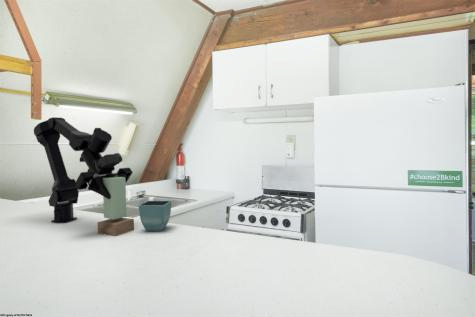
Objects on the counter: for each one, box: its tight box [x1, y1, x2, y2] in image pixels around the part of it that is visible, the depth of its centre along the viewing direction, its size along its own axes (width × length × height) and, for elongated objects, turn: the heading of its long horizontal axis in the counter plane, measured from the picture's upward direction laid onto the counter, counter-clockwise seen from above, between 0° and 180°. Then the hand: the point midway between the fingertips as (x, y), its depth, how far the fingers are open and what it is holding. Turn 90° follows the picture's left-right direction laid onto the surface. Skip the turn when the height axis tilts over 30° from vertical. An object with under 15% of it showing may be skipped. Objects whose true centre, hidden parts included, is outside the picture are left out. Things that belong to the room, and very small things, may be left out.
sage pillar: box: [102, 177, 127, 220], centre depth 115 cm, size 5×5×13 cm
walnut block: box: [96, 217, 135, 237], centre depth 116 cm, size 8×8×4 cm
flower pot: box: [137, 200, 173, 232], centre depth 117 cm, size 9×9×9 cm
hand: (117, 196), depth 114 cm, fingers open, 5 cm apart
